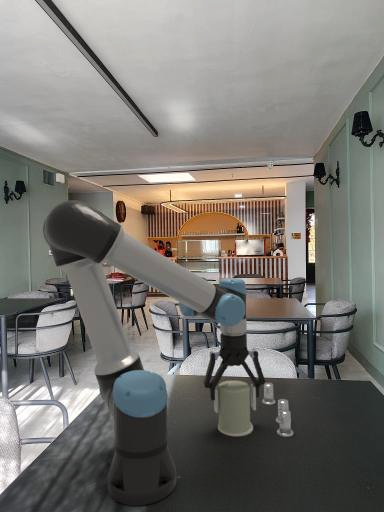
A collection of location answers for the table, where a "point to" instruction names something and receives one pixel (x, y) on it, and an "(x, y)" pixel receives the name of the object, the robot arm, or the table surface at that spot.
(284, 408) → the posts
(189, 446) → the table surface
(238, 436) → the beige flat disc
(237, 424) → the can
